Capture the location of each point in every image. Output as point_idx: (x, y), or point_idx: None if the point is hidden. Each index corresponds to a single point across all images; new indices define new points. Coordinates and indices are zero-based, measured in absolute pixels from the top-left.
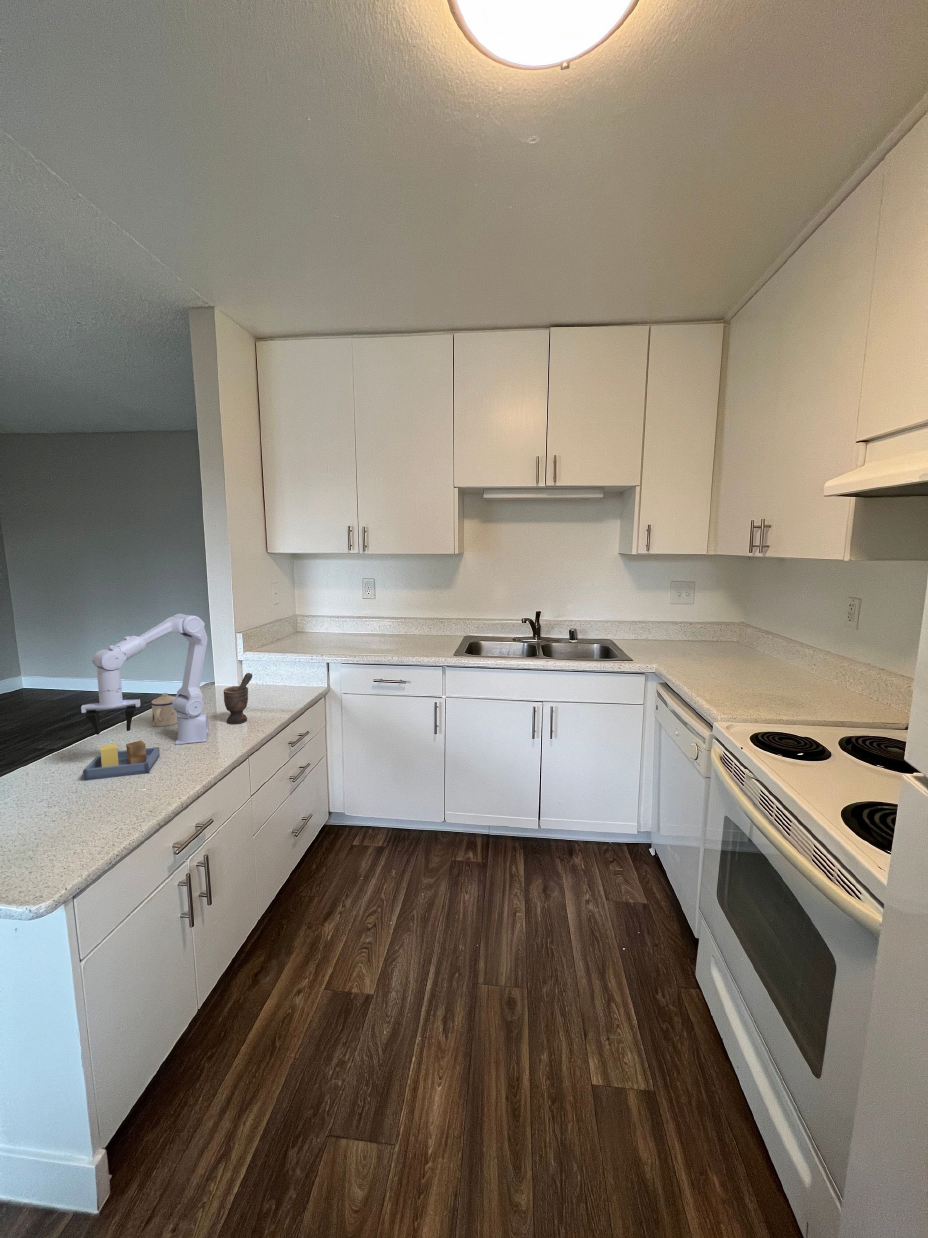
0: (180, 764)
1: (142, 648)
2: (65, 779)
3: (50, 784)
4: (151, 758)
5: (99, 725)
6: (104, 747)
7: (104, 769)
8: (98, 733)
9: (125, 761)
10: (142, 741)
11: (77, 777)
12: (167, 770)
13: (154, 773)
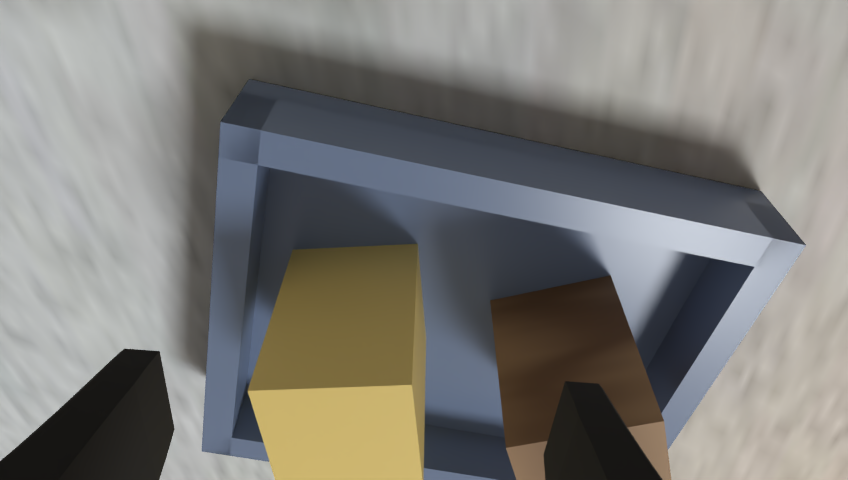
0: (820, 416)
1: None
2: (84, 316)
3: (17, 350)
4: None
5: (97, 452)
6: (301, 449)
7: None
8: (162, 448)
9: (474, 268)
10: (667, 455)
11: (159, 320)
12: (715, 460)
13: None
